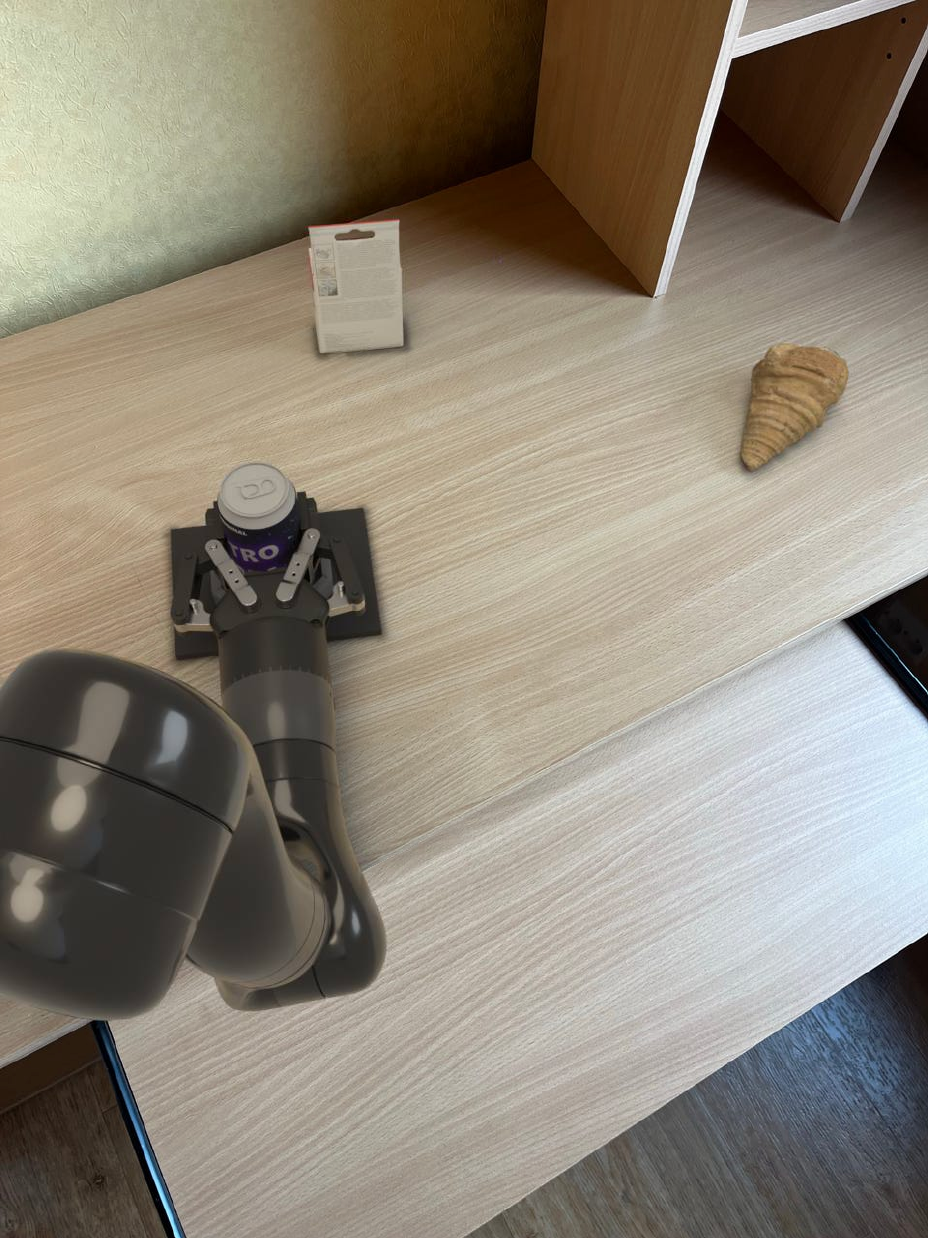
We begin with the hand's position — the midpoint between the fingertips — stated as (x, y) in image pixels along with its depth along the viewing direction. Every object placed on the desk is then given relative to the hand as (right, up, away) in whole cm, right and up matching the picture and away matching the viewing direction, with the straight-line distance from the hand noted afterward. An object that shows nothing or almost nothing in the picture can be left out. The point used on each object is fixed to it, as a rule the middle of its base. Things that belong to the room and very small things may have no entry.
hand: (260, 502), depth 81 cm
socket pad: (0, -6, +6) cm, 8 cm away
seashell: (+45, +9, +16) cm, 48 cm away
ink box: (+6, +17, +20) cm, 27 cm away
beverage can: (0, -6, +5) cm, 8 cm away
